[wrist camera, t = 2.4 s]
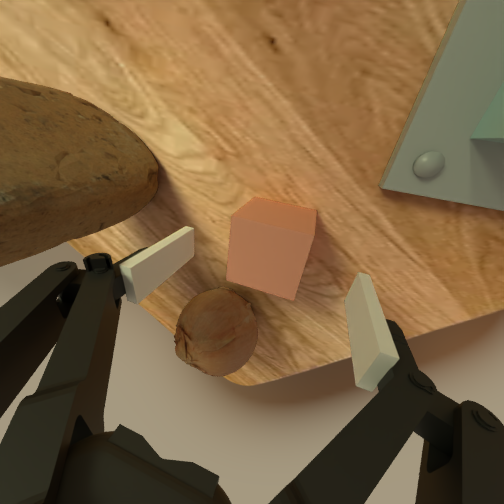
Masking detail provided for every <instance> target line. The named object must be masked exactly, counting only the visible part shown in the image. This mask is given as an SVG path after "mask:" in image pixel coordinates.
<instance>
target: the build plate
mask: <svg viewBox="0 0 504 504" xmlns="http://www.w3.org/2000/svg"><path fill="white" fill-rule="evenodd" d="M378 186H380V187H381V188H383V189H388V190H393V191H399V192H404V193H410V194H415V195H420V196H426V197H431V198H437V199H442V200H447V201H453V202H458V203H464V204H469V205H474V206H480V207H485V208H491V209H496V210H502V211H504V0H459V2H458V5H457V7H456V9H455V12H454V14H453V16H452V18H451V21H450V23H449V25H448V28H447V30H446V32H445V34H444V37H443V39H442V41H441V44H440V46H439V48H438V50H437V53H436V55H435V57H434V60H433V62H432V64H431V66H430V69H429V71H428V73H427V76H426V78H425V80H424V82H423V85H422V87H421V89H420V92H419V94H418V96H417V98H416V101H415V103H414V105H413V108H412V110H411V112H410V114H409V117H408V119H407V121H406V124H405V126H404V128H403V130H402V133H401V135H400V137H399V140H398V142H397V144H396V146H395V149H394V151H393V153H392V156H391V158H390V160H389V162H388V165H387V167H386V169H385V172H384V174H383V176H382V178H381V181H380V183H379V185H378Z"/></svg>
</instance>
